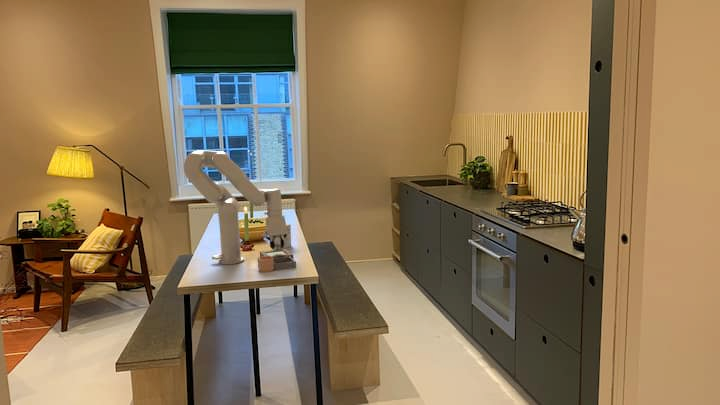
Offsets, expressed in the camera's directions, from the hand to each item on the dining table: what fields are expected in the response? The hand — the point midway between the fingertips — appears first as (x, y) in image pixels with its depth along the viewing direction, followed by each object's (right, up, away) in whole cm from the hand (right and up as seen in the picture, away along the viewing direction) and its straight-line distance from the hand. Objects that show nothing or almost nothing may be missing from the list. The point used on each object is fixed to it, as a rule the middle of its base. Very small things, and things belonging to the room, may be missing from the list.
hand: (277, 247), depth 278 cm
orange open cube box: (-2, -9, -19) cm, 22 cm away
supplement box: (-1, -2, +27) cm, 27 cm away
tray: (+5, -8, -13) cm, 16 cm away
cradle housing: (-1, -6, +1) cm, 6 cm away
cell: (0, -1, 0) cm, 1 cm away
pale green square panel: (-1, -4, +1) cm, 4 cm away
